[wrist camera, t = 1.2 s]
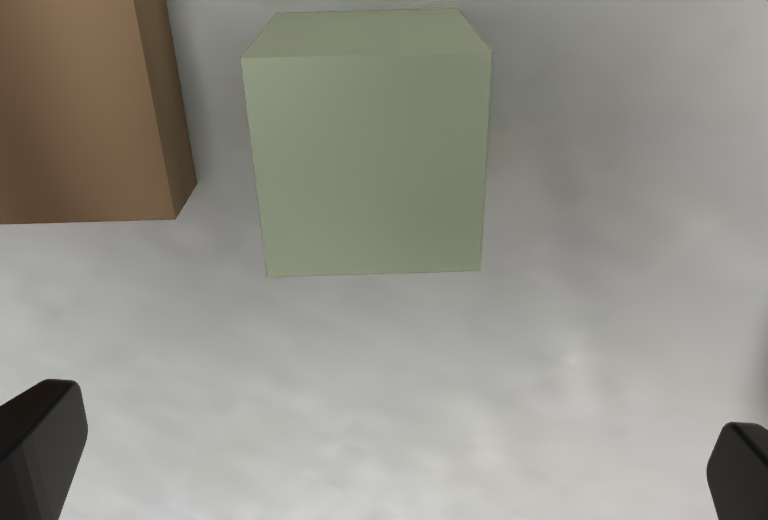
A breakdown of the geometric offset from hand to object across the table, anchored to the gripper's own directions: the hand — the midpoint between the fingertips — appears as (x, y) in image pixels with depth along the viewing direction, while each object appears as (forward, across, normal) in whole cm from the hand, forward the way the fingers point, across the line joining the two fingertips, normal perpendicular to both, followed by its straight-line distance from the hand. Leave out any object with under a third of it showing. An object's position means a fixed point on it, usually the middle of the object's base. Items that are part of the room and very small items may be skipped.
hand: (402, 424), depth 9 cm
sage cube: (+12, +1, -1) cm, 12 cm away
